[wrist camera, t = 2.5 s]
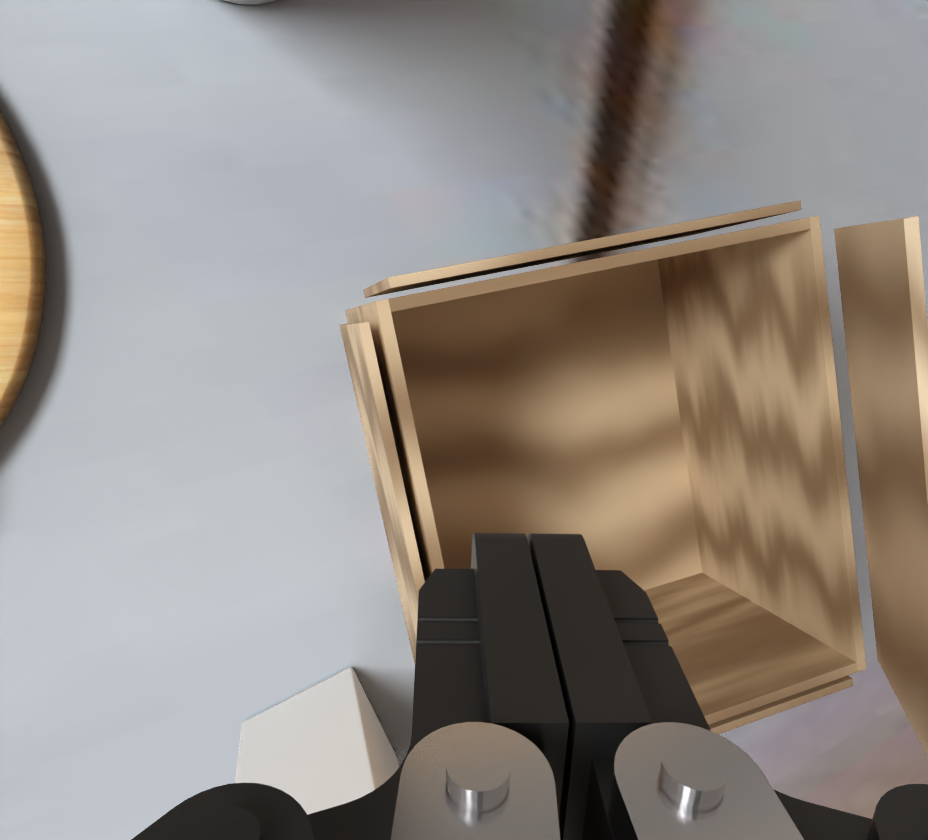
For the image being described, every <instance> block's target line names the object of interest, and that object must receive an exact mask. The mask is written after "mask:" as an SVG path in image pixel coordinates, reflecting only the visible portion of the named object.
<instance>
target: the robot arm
mask: <svg viewBox="0 0 928 840" xmlns="http://www.w3.org/2000/svg"><path fill="white" fill-rule="evenodd" d="M223 1H228V2H232V3H237V4H263V3H268V2H272V1H277V0H223ZM132 840H928V785H926V784H908V785H903V786H899V787H896V788H894V789H892V790H890V791H888V792H887V793H886V794H884V795H883V796H882V797H881V799H880V800H879V802H878V804H877V806H876V809H875V813H874V816H873V819H869V818H865V817H862V816H858V815H854V814H850V813H847V812H843V811H839V810H835V809H831V808H828V807H824V806H820V805H816V804H813V803H809V802H805V801H802V800H799V799H796V798H793V797H790V796H787V795H785V794H783V793H780V792H778V791H776V790H774V789H773V788H772V786H771V785H770V783H769V782H768V780H767V778H766V777H765V775H764V774H763V772H762V771H761V769H760V768H759V767H758V765H757V764H756V763H755V762H754V761H753V760H752V759H751V757H750V756H749V755H748V754H747V753H745V752H744V751H743V750H742V749H740V748H739V747H738V746H737V745H735V744H734V743H732V742H731V741H729V740H728V739H726V738H724V737H722V736H720V735H718V734H716V733H714V732H712V731H711V730H710V727H709V725H708V723H707V721H706V719H705V717H704V715H703V713H702V710H701V708H700V706H699V704H698V702H697V700H696V698H695V696H694V693H693V691H692V689H691V687H690V685H689V683H688V681H687V678H686V676H685V674H684V672H683V670H682V668H681V666H680V664H679V661H678V659H677V657H676V655H675V653H674V651H673V649H672V646H669V640H668V638H667V636H666V634H665V632H664V629H663V627H662V625H661V624H659V623H658V617H657V615H656V612H655V610H654V608H653V606H652V604H651V602H650V600H649V597H648V595H647V593H646V592H645V591H644V590H643V589H642V588H641V587H639V586H638V585H637V584H636V583H635V582H634V581H632V580H631V579H630V578H629V577H628V576H627V575H626V574H624V573H623V572H622V571H621V570H595V567H594V564H593V562H592V559H591V556H590V554H589V551H588V548H587V546H586V543H585V540H584V538H583V536H582V535H581V534H541V533H529V534H528V536H526V534H525V533H473V538H472V556H471V569H435V570H434V571H433V572H432V574H431V575H430V576H429V578H428V579H427V580H426V582H425V583H424V584H423V586H422V587H421V588H420V590H419V596H418V619H417V639H416V660H415V681H414V702H413V724H412V738H411V744H410V747H409V750H408V753H407V755H406V757H405V759H404V761H403V762H402V764H401V766H400V767H399V768H398V769H397V771H396V772H395V773H394V774H393V775H392V776H391V777H390V778H389V779H388V780H387V781H386V782H385V783H384V784H382V785H381V786H379V787H378V788H377V789H375V790H374V791H372V792H370V793H368V794H366V795H365V796H363V797H361V798H359V799H356V800H353V801H350V802H348V803H345V804H342V805H338V806H335V807H332V808H328V809H325V810H322V811H318V812H315V813H311V814H308V815H307V813H306V812H305V811H304V809H303V808H302V806H301V805H300V804H299V803H298V802H297V801H296V800H295V799H294V798H293V797H292V796H290V795H289V794H287V793H285V792H284V791H282V790H280V789H277V788H275V787H272V786H269V785H264V784H259V783H234V784H227V785H223V786H218V787H214V788H211V789H209V790H206V791H203V792H201V793H198V794H196V795H195V796H193V797H191V798H189V799H187V800H185V801H183V802H182V803H180V804H179V805H177V806H176V807H174V808H173V809H172V810H170V811H169V812H168V813H166V814H165V815H164V816H162V817H161V818H160V819H158V820H157V821H156V822H154V823H153V824H152V825H150V826H149V827H148V828H146V829H145V830H144V831H142V832H141V833H140V834H138V835H137V836H136V837H134V838H133V839H132Z"/></svg>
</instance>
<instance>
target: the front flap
mask: <svg viewBox="0 0 928 840" xmlns="http://www.w3.org/2000/svg"><path fill="white" fill-rule="evenodd" d="M834 232H835V242H836V252H837V261H838V271H839V281H840V291H841V301H842V311H843V321H844V331H845V341H846V351H847V360H848V370H849V380H850V390H851V400H852V410H853V420H854V430H855V440H856V449H857V459H858V469H859V479H860V489H861V499H862V509H863V519H864V529H865V539H866V548H867V558H868V568H869V578H870V588H871V598H872V608H873V618H874V628H875V638H876V647H877V657H878V661H879V663H880V665H881V667H882V669H883V671H884V673H885V674H886V676H887V678H888V680H889V682H890V684H891V686H892V688H893V690H894V692H895V694H896V696H897V698H898V700H899V702H900V703H901V705H902V707H903V709H904V711H905V713H906V715H907V717H908V719H909V721H910V723H911V725H912V727H913V729H914V731H915V733H916V734H917V736H918V738H919V740H920V742H921V744H922V746H923V748H924V750H925V752H926V754H927V756H928V329H927V317H926V304H925V292H924V280H923V267H922V255H921V243H920V230H919V218H918V216H916V217H909V218H902V219H896V220H889V221H882V222H876V223H869V224H862V225H856V226H849V227H843V228H838V229H834Z"/></svg>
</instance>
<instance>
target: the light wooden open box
mask: <svg viewBox="0 0 928 840" xmlns="http://www.w3.org/2000/svg"><path fill="white" fill-rule="evenodd" d="M798 210H801V201H795V202H789V203H784V204H779V205H773V206H768V207H763V208H757V209H752V210H747V211H741V212H736V213H731V214H725V215H720V216H715V217H709V218H704V219H699V220H693V221H688V222H683V223H677V224H672V225H667V226H661V227H656V228H651V229H645V230H640V231H635V232H629V233H624V234H619V235H613V236H608V237H603V238H597V239H592V240H587V241H581V242H576V243H571V244H565V245H560V246H554V247H549V248H544V249H538V250H533V251H528V252H522V253H517V254H512V255H506V256H501V257H496V258H490V259H485V260H480V261H474V262H469V263H464V264H458V265H453V266H448V267H442V268H437V269H432V270H426V271H421V272H416V273H410V274H405V275H400V276H394V277H389V278H387V279H385V280H382V281H380V282H378V283H376V284H374V285H372V286H370V287H368V288H366V289H364V295H365V298H367V297H372V296H377V295H382V294H388V293H393V292H398V291H403V290H408V289H414V288H419V287H424V286H429V285H434V284H440V283H445V282H450V281H455V280H460V279H466V278H471V277H476V276H481V275H486V274H492V273H497V272H502V271H507V270H513V269H518V268H523V267H528V266H533V265H539V264H544V263H549V262H554V261H559V260H565V259H570V258H575V257H580V256H585V255H591V254H596V253H601V252H606V251H611V250H617V249H622V248H627V247H632V246H638V245H643V244H648V243H653V242H658V241H664V240H669V239H674V238H679V237H684V236H690V235H694V234H698V233H703V232H707V231H711V230H716V229H720V228H724V227H729V226H733V225H737V224H742V223H746V222H750V221H755V220H759V219H763V218H768V217H772V216H776V215H781V214H785V213H789V212H794V211H798ZM346 315H347V320H348V324H343V325H340V329H341V333H342V338H343V342H344V347H345V351H346V356H347V360H348V365H349V369H350V374H351V378H352V383H353V387H354V392H355V396H356V401H357V406H358V410H359V415H360V419H361V424H362V428H363V433H364V437H365V442H366V446H367V451H368V455H369V460H370V464H371V469H372V473H373V478H374V482H375V487H376V491H377V496H378V500H379V505H380V509H381V514H382V518H383V523H384V527H385V532H386V536H387V541H388V545H389V550H390V554H391V559H392V563H393V568H394V572H395V577H396V581H397V586H398V590H399V595H400V599H401V604H402V608H403V613H404V617H405V622H406V626H407V631H408V635H409V640H410V644H411V649H412V653H413V658H414V662H415V660H416V639H417V619H418V596H419V590H420V588H421V587H422V586H423V584H424V583H425V582H426V580H427V579H428V578H429V576H430V575H431V574H432V572H433V571H434V570H435V569H471V556H472V538H473V533H525V534H526V536H528V534H529V533H541V534H581V535H582V536H583V538H584V540H585V543H586V546H587V548H588V551H589V554H590V556H591V559H592V562H593V564H594V567H595V570H621V571H622V572H623V573H624V574H626V575H627V576H628V577H629V578H630V579H631V580H632V581H634V582H635V583H636V584H637V585H638V586H639V587H641V588H642V589H643V590H644V591H645V592H646V593H647V595H648V597H649V600H650V602H651V604H652V606H653V608H654V610H655V612H656V615H657V617H658V623H659V624H661V625H662V627H663V629H664V632H665V634H666V636H667V638H668V640H669V646H672V649H673V651H674V653H675V655H676V657H677V659H678V661H679V664H680V666H681V668H682V670H683V672H684V674H685V676H686V678H687V681H688V683H689V685H690V687H691V689H692V691H693V693H694V696H695V698H696V700H697V702H698V704H699V706H700V708H701V710H702V713H703V715H704V717H705V719H706V721H707V723H708V725H709V727H710V730H711V731H712V732H714V733H716V734H720V733H723V732H726V731H729V730H732V729H734V728H737V727H740V726H743V725H745V724H748V723H751V722H754V721H757V720H759V719H762V718H765V717H768V716H770V715H773V714H776V713H779V712H782V711H784V710H787V709H790V708H793V707H795V706H798V705H801V704H804V703H807V702H809V701H812V700H815V699H818V698H820V697H823V696H826V695H829V694H832V693H834V692H837V691H840V690H843V689H845V688H848V687H851V686H853V682H852V678H851V677H849V676H847V675H850V674H853V673H856V672H859V671H861V670H864V669H866V660H865V651H864V641H863V632H862V622H861V612H860V603H859V593H858V584H857V574H856V565H855V555H854V545H853V536H852V526H851V517H850V507H849V497H848V488H847V478H846V469H845V459H844V449H843V440H842V430H841V421H840V411H839V401H838V392H837V382H836V373H835V363H834V353H833V344H832V334H831V325H830V315H829V306H828V296H827V286H826V277H825V267H824V258H823V248H822V238H821V229H820V219H819V216H815V217H809V218H804V219H799V220H794V221H789V222H784V223H778V224H773V225H768V226H763V227H758V228H753V229H747V230H742V231H737V232H732V233H727V234H722V235H716V236H711V237H706V238H701V239H696V240H691V241H685V242H680V243H675V244H670V245H665V246H660V247H655V248H649V249H644V250H639V251H634V252H629V253H624V254H618V255H613V256H608V257H603V258H598V259H593V260H587V261H582V262H577V263H572V264H567V265H562V266H556V267H551V268H546V269H541V270H536V271H531V272H525V273H520V274H515V275H510V276H505V277H500V278H495V279H489V280H484V281H479V282H474V283H469V284H464V285H458V286H453V287H448V288H443V289H438V290H433V291H427V292H422V293H417V294H412V295H407V296H402V297H396V298H391V299H386V300H381V301H376V302H372V303H369V304H366V305H362V306H359V307H356V308H353V309H349V310H346Z"/></svg>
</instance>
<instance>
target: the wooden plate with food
mask: <svg viewBox="0 0 928 840" xmlns="http://www.w3.org/2000/svg"><path fill="white" fill-rule="evenodd" d="M45 285H46V261H45V246H44V238H43V229H42V223H41V219H40V215H39V210H38V206H37V202H36V198H35V193H34V189H33V186H32V183H31V180H30V177H29V174H28V171H27V168H26V166H25V163H24V161H23V159H22V156H21V154H20V152H19V149H18V147H17V145H16V142H15V140H14V138H13V135H12V133H11V131H10V129H9V127H8V125H7V124H6V122H5V120H4V118H3V116H2V114H1V112H0V427H1V425H2V424H3V422H4V420H5V419H6V417H7V415H8V414H9V412H10V411H11V409H12V407H13V406H14V404H15V402H16V400H17V398H18V396H19V394H20V392H21V390H22V388H23V385H24V382H25V379H26V377H27V374H28V371H29V369H30V366H31V363H32V360H33V358H34V354H35V350H36V345H37V340H38V336H39V331H40V325H41V319H42V313H43V306H44V297H45Z"/></svg>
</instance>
